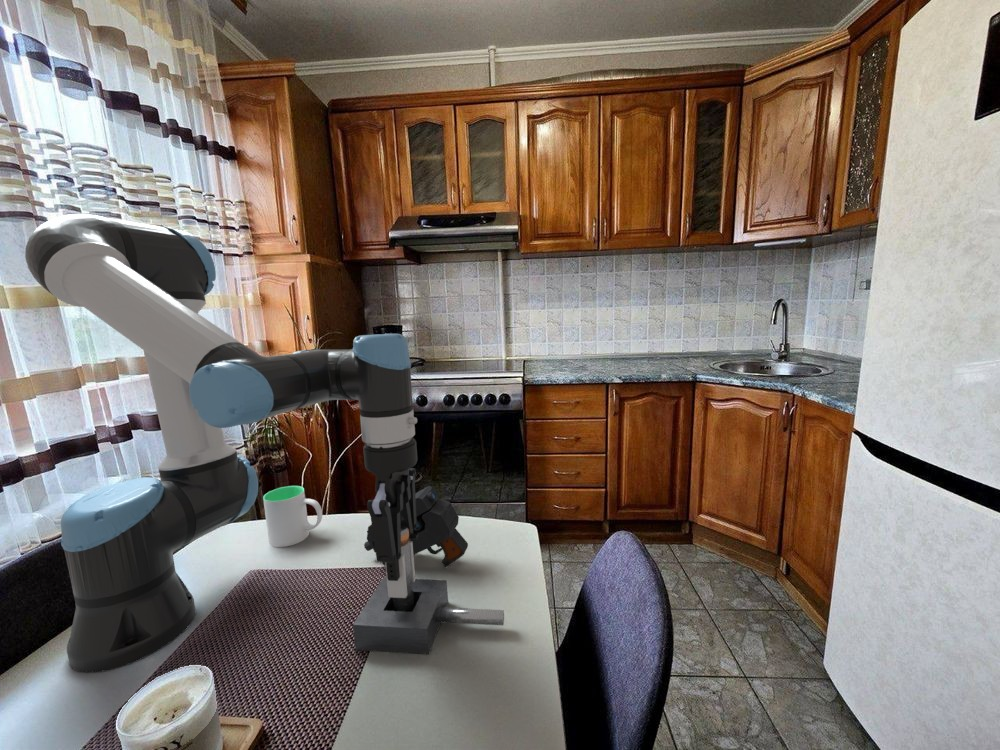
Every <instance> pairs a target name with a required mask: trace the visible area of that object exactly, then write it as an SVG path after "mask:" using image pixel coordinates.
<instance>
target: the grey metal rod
mask: <svg viewBox="0 0 1000 750" xmlns="http://www.w3.org/2000/svg"><path fill="white" fill-rule="evenodd" d="M401 554H404V558H405V570H406V582H407V594H408V595H407V597H406V598H394V597H393V600H394V611H403V612H413V610H414V598H413V586H412V573H411V561H410V549H409V529H408V528H407V527H406V526H401Z"/></svg>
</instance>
